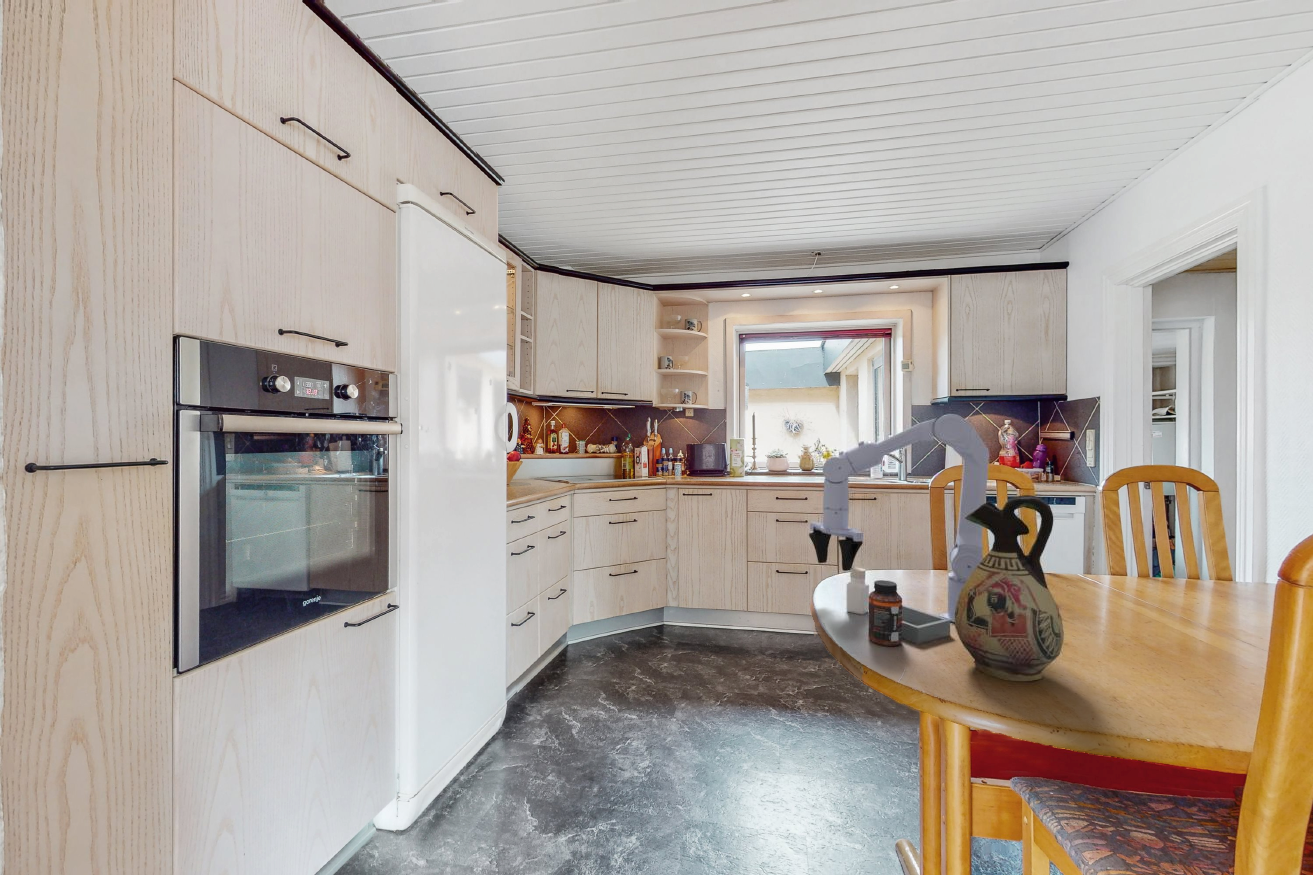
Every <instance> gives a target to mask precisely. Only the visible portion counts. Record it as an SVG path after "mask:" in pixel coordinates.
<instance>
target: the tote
mask: <svg viewBox="0 0 1313 875" xmlns="http://www.w3.org/2000/svg"><path fill="white" fill-rule="evenodd" d="M948 636H951V621H950V620H948V619H945V618H942V617H939V616H938V615H935V614H932V613H929V612H926V611H923V610H920V609H916V608H913V607H910V606H907V605H903V604H902V639H904V640H907V641H910V642H911V643H912V642H913V643H914V644H917V645H919V644H924V643H926V642H930V641H934V640H939V639H941V638H945V637H948Z"/></svg>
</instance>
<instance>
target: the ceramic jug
mask: <svg viewBox="0 0 1313 875" xmlns="http://www.w3.org/2000/svg"><path fill="white" fill-rule="evenodd" d="M1021 508H1026V509H1029V510H1034V511H1035V512H1037V513H1038V514H1039V516H1040V519H1041V520H1040V525H1039V529H1038V532H1037V534H1036V538H1035V541H1034V543H1033V544H1032V546H1031V548H1030V550H1029V553H1028V554H1027V555H1026V554H1025V552H1024V550H1023V549H1022V547H1021V545H1020V543H1019V540H1018V537H1019V536H1023V535H1024V536H1025V535H1028V534H1030V529H1029V527H1028V525H1027V524H1026V523H1025V522H1024V521H1023V520H1022V518H1020V517H1019V516H1017V515H1016V513H1015V511H1016V510H1017V509H1021ZM965 519H967V520H969V521H971V522H973V523H976V524H978V525H981V526H983V528H985V529H987V530H989V531H990V532H991V533H992V535H993V536H994V537H993V539H994V541H993V543H992V547H991V549H990V550H989V552H988V554H986V555H985V557H983V560H982V561H981V562H980V563H979V565H978V566H977V567H976V568H975V570H974V571H973V573H972V574H971V575H970V577H969V578H968V579H967V581H966V582H965V584H964V586H963V588H962V590H961V593H960V595H959V598H958V602H957V606H956V610H955V622H954V624H955V625H954V626H955V629H956V633H957V636H958V638H959V640H960V642H961V644H962V645H963V647H964V648H965V649H966V651H968V653H969V655H971V657H972V659H973V660H974V661H973V663H974V666H975V667H976V669H978V671H980V672H982V673H984V674H986V675H988V676H991V677H994V678H998V679H1000V680H1005V681H1012V682H1031V681H1037V680H1040V679H1043V676H1044V675H1043V674H1042V671H1043V670H1045V669H1046V668H1047V667H1048V666H1049V665H1050V664H1051V663H1052V662H1054V661H1055V660H1056V659H1057V658H1059V657H1060V654H1061V652H1062V648H1063V644H1064V639H1065V636H1064V635H1065V633H1064V632H1065V630H1064V626H1063V625H1064V624H1063V618H1062V615H1061V612H1060V608H1059V607H1058V604H1057V603H1056V601H1055V599H1054V596H1053V595H1052V592H1051V590H1050V589H1049V587H1048V584H1047V581H1046V576H1045V573H1044V570H1043V567H1042V565H1041V562H1040V561H1041V557H1042V555H1043V552H1044V550H1046V546H1047V543H1048V541H1049V538H1050V536H1051V534H1052V531H1053V527H1054V515H1053V510H1052V508H1051V506H1050V504H1049V503H1048V502H1047V501H1045V500H1044V499H1042V498H1040V497H1038V496H1036V495H1030V494H1024V495H1017V496H1015V497H1012V498H1010V499H1009V500H1008V501H1006V503H1005V504H1004V505H1003V507H1002V509H999V508H998V507H997V505H996V504H995V502H993V501H992V500H988V501H985V504H983V505H981V506H980V507H979V508H978V509H976V510H975V511H974V512H972V513H970V514H969V515H968V516H967V517H965Z"/></svg>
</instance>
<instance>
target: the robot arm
mask: <svg viewBox="0 0 1313 875" xmlns="http://www.w3.org/2000/svg"><path fill="white" fill-rule="evenodd" d="M934 422H935V423H934ZM934 437H935V438H936V439H937V440H938V441H939V442H941V443H942V444H944V445H947V446H948V447H950V448H952V450H954V452H956V453H957V454H958V455H959V457H961V458H962V460H963V463H962V464H963V465H962V474H961V486H960V498H959V509H958V518H957V519H958V521H957V532H956V536H955V543H954V545H953V548H952V549H951V550H950V552H949V562H950V564H951V569H952V570H951V571H950V572H949V573H948V574H947V612H946V613H941V614H938V615H937V616H939V617H942V618H945V619H948V620H950V622H951V623H955V610H956V606H957V602H958V598H959V595H960V593H961V590H962V588H963V586H964V584H965V582H966V581H967V579H968V578H969V577H970V575H971V574H972V573H973V571H974V570H975V568H976V567H977V566H978V565H979V563H980V562H981V561H982V560H983V559H984V556H983V549H984V548H983V546H984V545H983V544H984V543H983V530H984V527H983V526H981V525H978V524H976V523H973V522H971V521H969V520H967V519H965V517H967V516H968V515H969V514H970V513H972V512H974V511H975V510H976V509H978V508H979V507H980V506H981V505H983V504H985V503H986V496H987V486H988V476H989V473H988V472H989V466H990V465H989V463H990V451H989V449H988V447H987V446H986V444H985V443H984V441H983V440H982V438H981V437H980V435H979V434H978V432H977V431H976V428H975V427H974V425H973V423H971V422H969V421H967V419H965V418H964V417H963V416H960V415H959V414H955V413H948V414H945V415H942V416H941V417H939V418H938V419H937V418H933V419H930V420H926V421H924V422H920V423H917V424H914V425H913V426H911V427H909V428H907V429H905V430H903V431H901V432H898V433H896V434H895V435H893V436H890V437H889V438H886V439H884V440H882V441H881V442H880V441H879V442H874V441H871V440H868V441H866V442H865V440H862V441H860V442H858V443H857V446H855V447H853V448H850V449H849V450H846V451H840V452H838V455H839V456H832V457H830V458H829V459H827V460H826V461H825V463H824V464H823V466H822V475H823V477H824V481H823V484H824V486H823V494H822V495H823V496H822V497H823V498H822V501H823V502H822V522H819V521H818V522H817V521H812V522H810V523H809V531H812V532H809V533H808V537H809V538H810V540H811V542H812V545H813V547H814V550H815V555H816V558H817V559H816V560H817V563H819V564H825V563H827V560H828V554H829V552H828V551H829V545H830V541H831V537H832V536H835V537H839V538H844V539H838V540H837V541H838V544H839V547H840V554H841V569H842V571H843V572H846V571H850V569H851V568H853V564H854V561H855V559H856V556H857V554H858V551H859V550H860V549H861V546H862V545H863V542H864V532H862V531H858V530H856V529H853V528H851V527H849V514H850V513H849V511H850V510H849V508H850V506H849V505H850V489H849V477H850V476H851V475H854V476H856V475H858V474H860V473H863V472H866V471H867V470H870V469H872V468H874V467H877V466H878V465H881V464H882V463H883V460H884V458H885V457H884V456H886V455H888V454H891V453H892V452H895V451H898V450H900V449H903V448H905V447H907V446H910V445H912V444H915V443H917V442H934V440H935V439H934Z"/></svg>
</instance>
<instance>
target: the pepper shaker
mask: <svg viewBox="0 0 1313 875" xmlns="http://www.w3.org/2000/svg"><path fill="white" fill-rule="evenodd" d="M849 571H850V574H849V575H850V576H849V577H850V581H849V582H848V583H846V611H847V612H849V613H851V614H858V615H865V614H866V613H867V612H869V594H870V585H869V584H868V583H866V569H865V568H861V567H852V568H851V569H850V570H849Z"/></svg>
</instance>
